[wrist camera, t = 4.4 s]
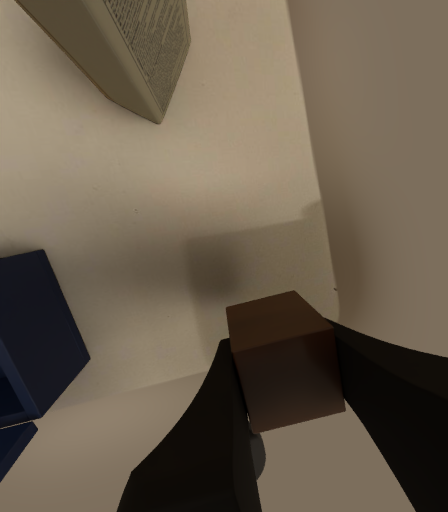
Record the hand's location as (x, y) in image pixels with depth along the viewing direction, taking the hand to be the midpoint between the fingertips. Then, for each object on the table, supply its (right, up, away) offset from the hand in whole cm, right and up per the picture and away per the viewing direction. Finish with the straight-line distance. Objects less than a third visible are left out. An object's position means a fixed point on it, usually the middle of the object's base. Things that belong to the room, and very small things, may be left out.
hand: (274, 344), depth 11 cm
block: (0, 0, +1) cm, 1 cm away
